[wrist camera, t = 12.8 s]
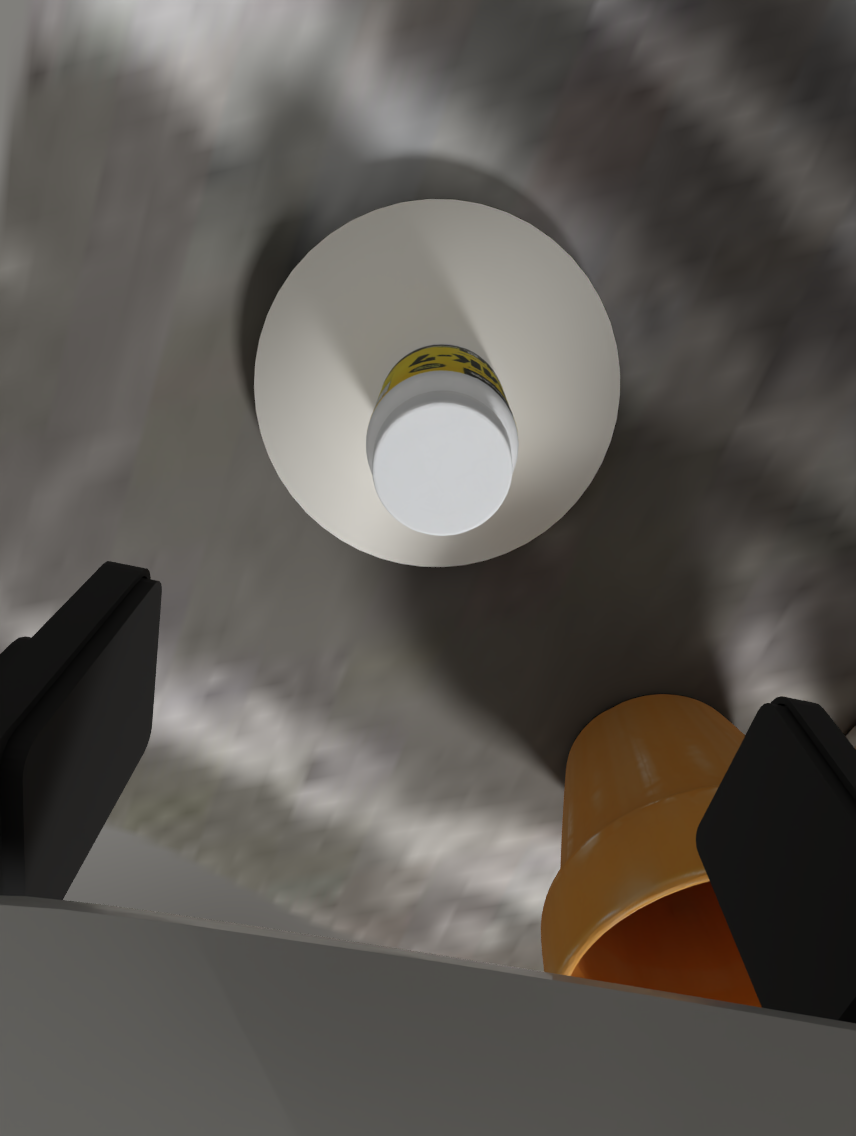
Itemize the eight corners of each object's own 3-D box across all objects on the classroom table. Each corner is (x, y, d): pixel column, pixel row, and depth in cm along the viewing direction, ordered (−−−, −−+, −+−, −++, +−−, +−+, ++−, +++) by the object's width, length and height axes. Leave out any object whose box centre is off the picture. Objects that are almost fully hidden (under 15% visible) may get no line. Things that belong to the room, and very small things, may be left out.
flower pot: (617, 596, 33) (716, 803, 22) (851, 716, 36) (1053, 956, 24) (464, 801, 39) (478, 1054, 27) (679, 890, 42) (775, 1155, 30)
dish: (662, 249, 27) (675, 251, 25) (553, 578, 33) (558, 595, 31) (287, 157, 26) (278, 153, 24) (245, 516, 32) (236, 530, 30)
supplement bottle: (522, 365, 27) (555, 420, 20) (478, 479, 29) (494, 570, 21) (399, 323, 26) (385, 363, 19) (364, 442, 28) (338, 522, 21)
